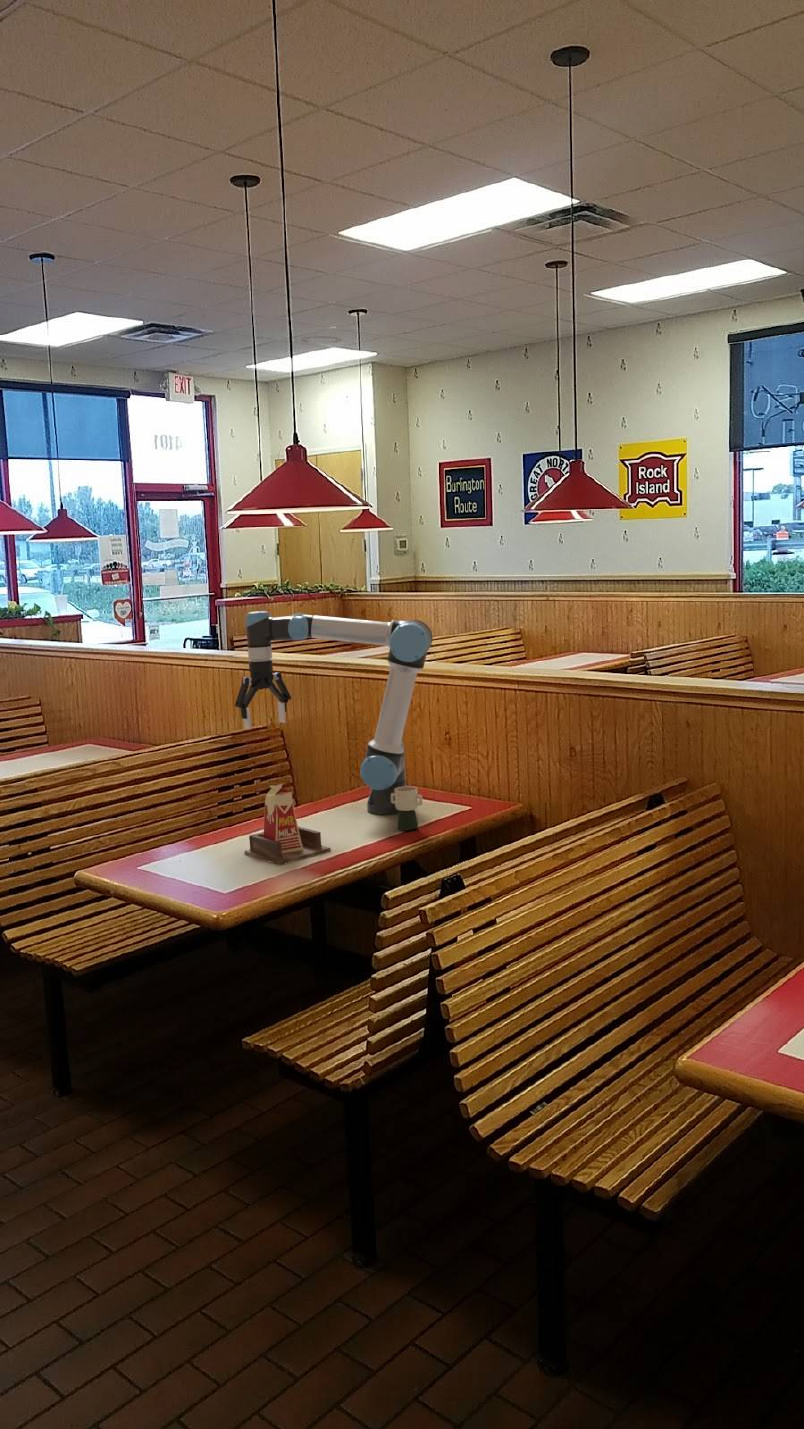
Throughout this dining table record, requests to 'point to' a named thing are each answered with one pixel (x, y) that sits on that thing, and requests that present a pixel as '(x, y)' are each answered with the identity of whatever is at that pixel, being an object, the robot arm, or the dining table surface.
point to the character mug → (406, 806)
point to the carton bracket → (273, 849)
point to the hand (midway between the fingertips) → (265, 725)
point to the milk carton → (281, 819)
